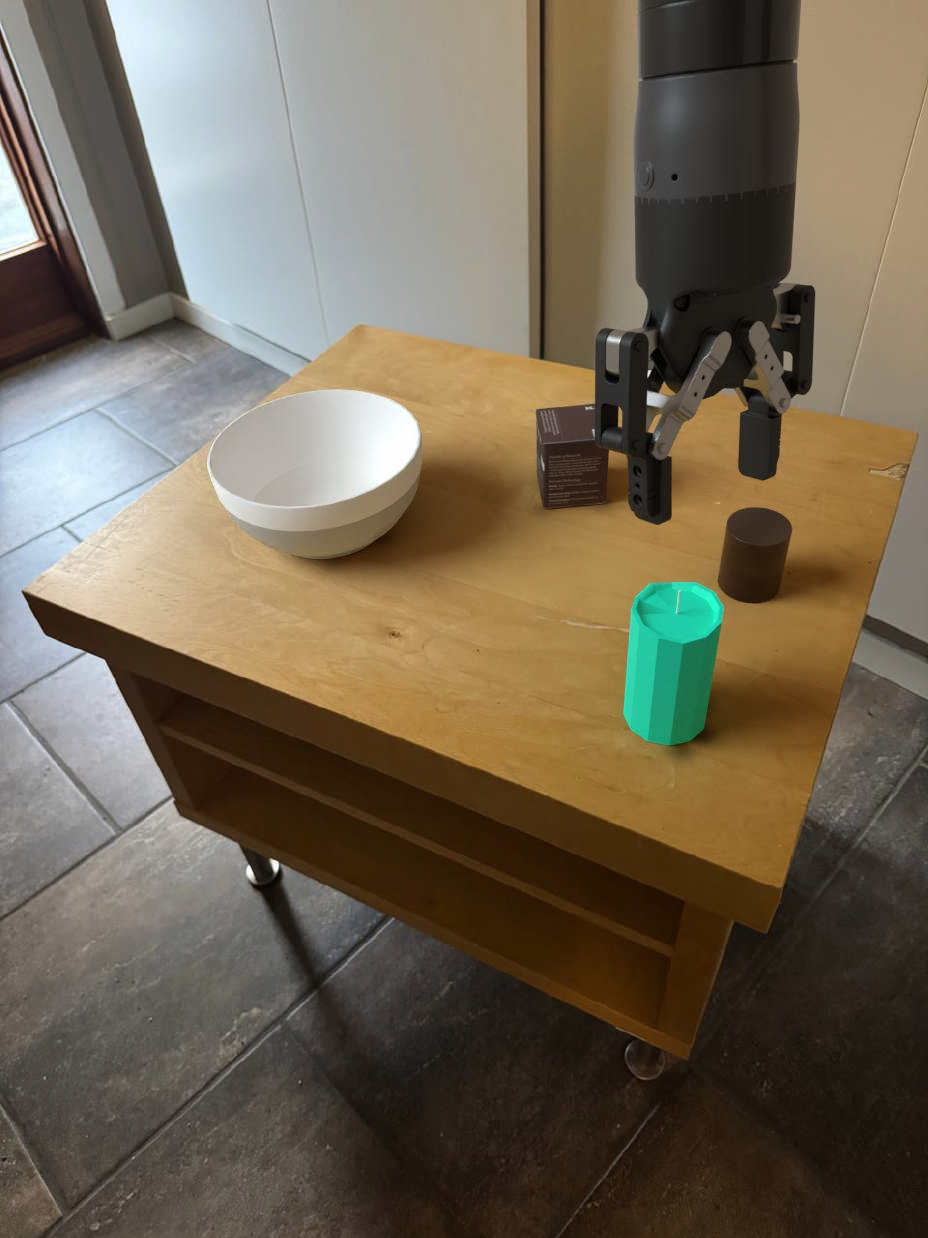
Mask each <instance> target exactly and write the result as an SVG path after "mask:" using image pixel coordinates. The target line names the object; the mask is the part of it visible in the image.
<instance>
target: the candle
mask: <svg viewBox="0 0 928 1238" xmlns="http://www.w3.org/2000/svg"><path fill="white" fill-rule="evenodd" d="M724 612H725V605H724V604H723V603H722V601H721V600H720V598H719V596H718V594H717V593H716V591H714V590H712V589H710V588H709V587H706V585H705V586H704V585H703V584H701V583H699V582H697V581H671V582H669V581H668V582H666V581H665V582H650V583H648V584H647V586H645V587H644V588H643V589H641V591H640V592H638V594H637V595H636V596H634V599H633V602H632V605H631V608H630V617H629V618H630V619H629V634H628V644H627V645H628V646H627V647H628V648H627V658H626V660H627V661H626V674H625V684H624V685H625V687H624V688H625V689H624V699H623V700H624V701H623V713H622V714H623V717H624V719H625V720H626V723H627V725H628V727H629V730H630V731H632V732H633V733H635V734H636V735H637V736H639V737H640V738H642V739H643V740H645V741H646V742H648V743H653V744H659V745H664V746H669V747H670V746H676V745H679V744H683V743H688V742H692V740H693V739H694V738H696V737H697V736H698V735H699V734H700V733H702V731H703V730H705V725H706V719H707V713H708V708H709V702H710V697H711V689H712V685H713V676H714V673H715V665H716V659H717V654H718V648H719V641H720V636H721V630H722V625H723V619H724Z"/></svg>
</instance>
